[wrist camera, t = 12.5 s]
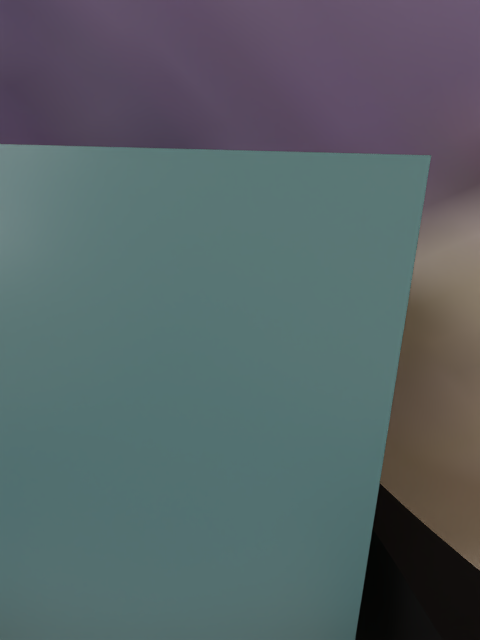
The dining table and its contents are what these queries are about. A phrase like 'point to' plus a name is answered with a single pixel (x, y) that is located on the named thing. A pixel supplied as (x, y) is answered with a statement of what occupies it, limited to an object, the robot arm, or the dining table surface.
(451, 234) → the dining table surface
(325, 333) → the teal rectangular box
